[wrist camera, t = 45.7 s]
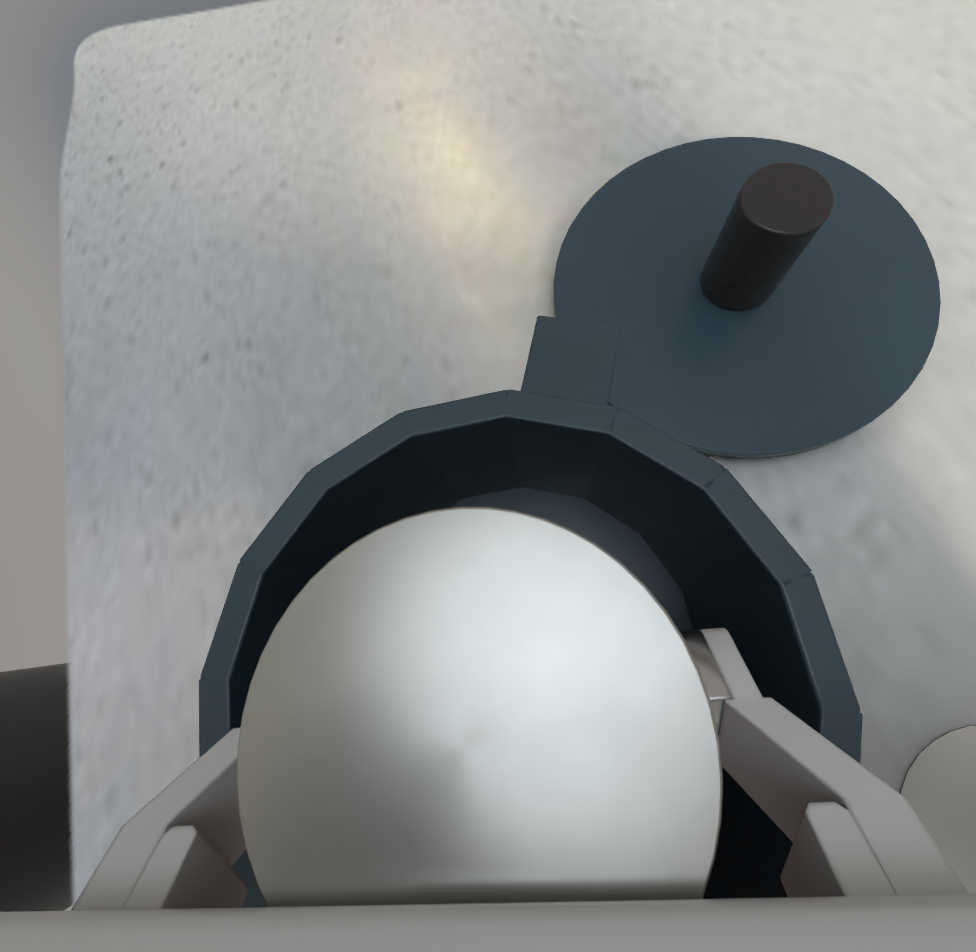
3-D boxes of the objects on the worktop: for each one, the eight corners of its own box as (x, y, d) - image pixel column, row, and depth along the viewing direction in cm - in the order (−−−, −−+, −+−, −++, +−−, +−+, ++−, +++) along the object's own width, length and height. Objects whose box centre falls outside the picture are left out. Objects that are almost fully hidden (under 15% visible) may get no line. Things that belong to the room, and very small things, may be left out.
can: (386, 746, 15) (162, 951, 6) (437, 536, 16) (312, 466, 8) (602, 809, 14) (694, 1168, 5) (636, 578, 15) (753, 552, 7)
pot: (277, 879, 18) (51, 1114, 10) (412, 393, 22) (333, 274, 14) (680, 1026, 15) (828, 1506, 7) (743, 448, 20) (880, 342, 12)
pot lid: (523, 428, 21) (515, 370, 16) (584, 147, 25) (594, 20, 19) (916, 495, 19) (1068, 452, 13) (924, 169, 22) (1046, 29, 17)
